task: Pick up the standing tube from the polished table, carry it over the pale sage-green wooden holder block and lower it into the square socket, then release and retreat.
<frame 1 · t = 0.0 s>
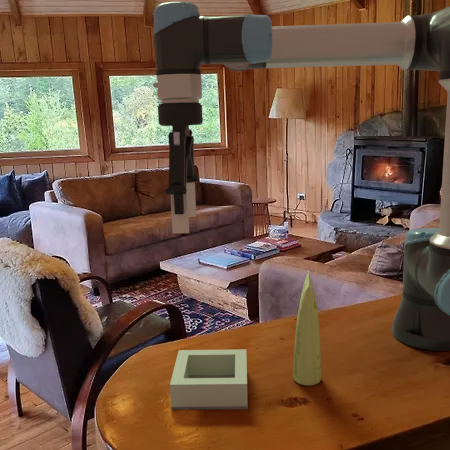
hand: (185, 224, 93), 28 cm above the table, fingers open, 13 cm apart
socket block: (211, 389, 91), on the table
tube: (306, 381, 94), on the table
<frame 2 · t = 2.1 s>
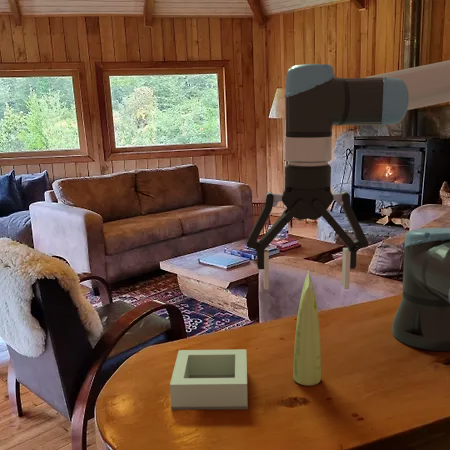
hand: (305, 287, 90), 18 cm above the table, fingers open, 13 cm apart
nothing on the table moved.
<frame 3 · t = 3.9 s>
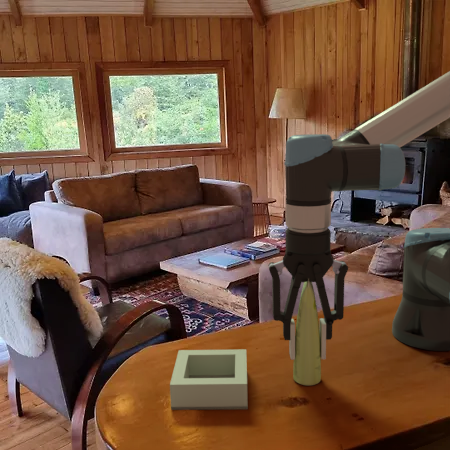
hand: (307, 355, 93), 5 cm above the table, fingers closed on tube, 5 cm apart
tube: (306, 381, 94), on the table, touching gripper
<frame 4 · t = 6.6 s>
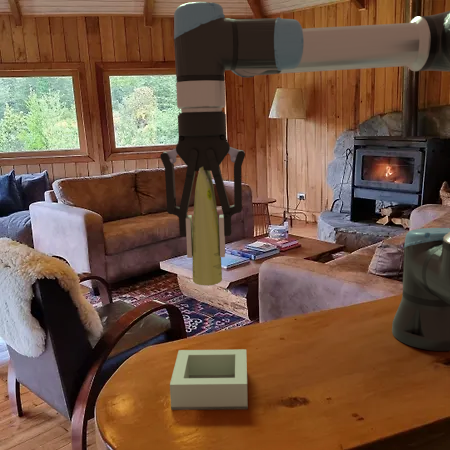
hand: (206, 254, 86), 24 cm above the table, fingers closed on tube, 5 cm apart
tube: (207, 283, 87), point 20 cm above the table, touching gripper
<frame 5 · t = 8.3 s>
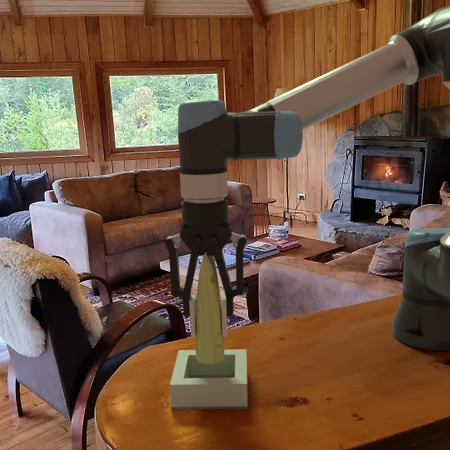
hand: (209, 333, 89), 11 cm above the table, fingers closed on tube, 5 cm apart
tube: (210, 359, 90), point 6 cm above the table, touching gripper
when the fingers open (6 cm above the table, at t = 9.6 s): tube stays where it is, resting on socket block.
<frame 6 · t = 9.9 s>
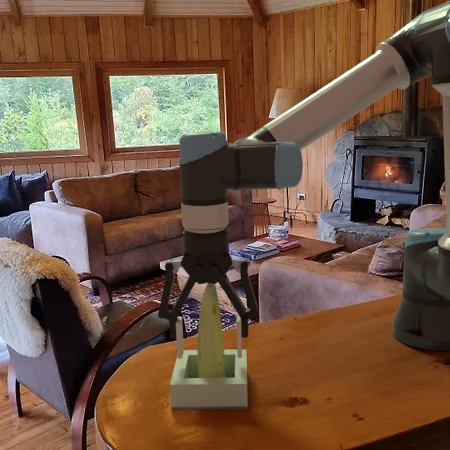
hand: (210, 354, 90), 7 cm above the table, fingers open, 9 cm apart
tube: (211, 387, 91), resting on socket block
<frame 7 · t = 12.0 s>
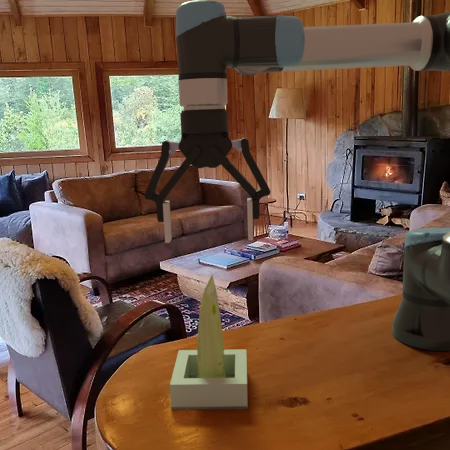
hand: (209, 240, 86), 27 cm above the table, fingers open, 13 cm apart
nothing on the table moved.
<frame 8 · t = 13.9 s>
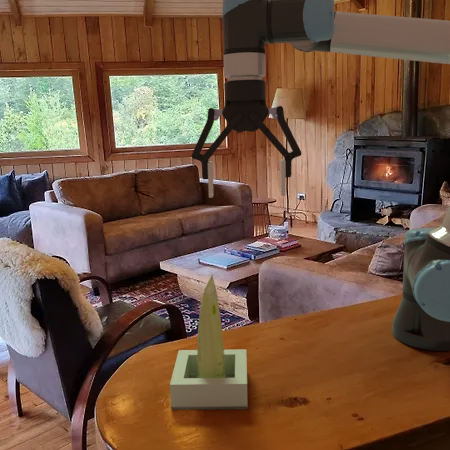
hand: (247, 195, 99), 32 cm above the table, fingers open, 13 cm apart
nothing on the table moved.
at the end: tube 0.0 cm off-centre on the socket block, point 0.3 cm above the socket block's base; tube tilted 0°; the gripper is holding nothing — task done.
